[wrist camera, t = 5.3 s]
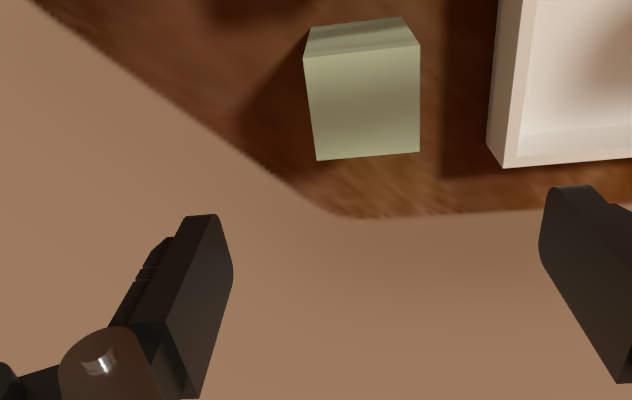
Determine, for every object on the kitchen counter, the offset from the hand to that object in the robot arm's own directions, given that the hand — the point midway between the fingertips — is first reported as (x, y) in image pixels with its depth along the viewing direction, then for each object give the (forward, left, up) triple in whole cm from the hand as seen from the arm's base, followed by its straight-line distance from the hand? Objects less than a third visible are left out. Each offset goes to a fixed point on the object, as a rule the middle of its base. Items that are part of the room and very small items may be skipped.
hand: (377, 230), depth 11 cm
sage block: (0, 0, -14) cm, 14 cm away
